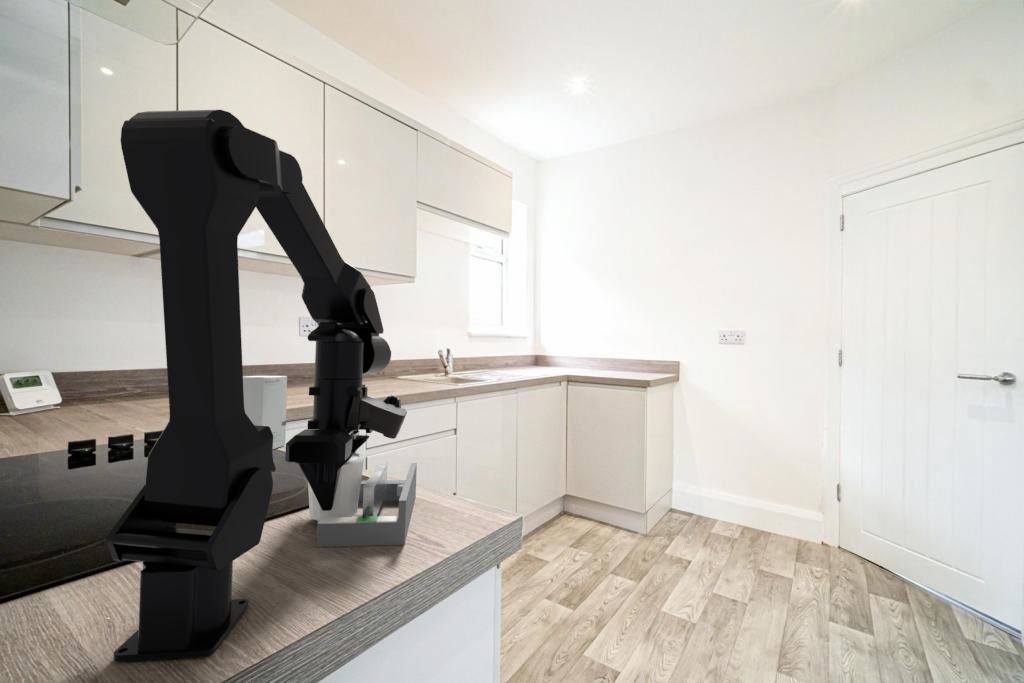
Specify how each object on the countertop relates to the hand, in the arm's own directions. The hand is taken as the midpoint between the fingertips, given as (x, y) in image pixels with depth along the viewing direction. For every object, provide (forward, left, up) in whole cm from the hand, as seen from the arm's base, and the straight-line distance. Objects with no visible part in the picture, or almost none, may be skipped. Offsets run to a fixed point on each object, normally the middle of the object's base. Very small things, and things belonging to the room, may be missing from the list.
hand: (334, 500), depth 57 cm
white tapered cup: (0, 0, -2) cm, 2 cm away
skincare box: (+37, +23, -3) cm, 44 cm away
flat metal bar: (-1, -5, -1) cm, 5 cm away
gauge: (0, -5, -2) cm, 5 cm away
